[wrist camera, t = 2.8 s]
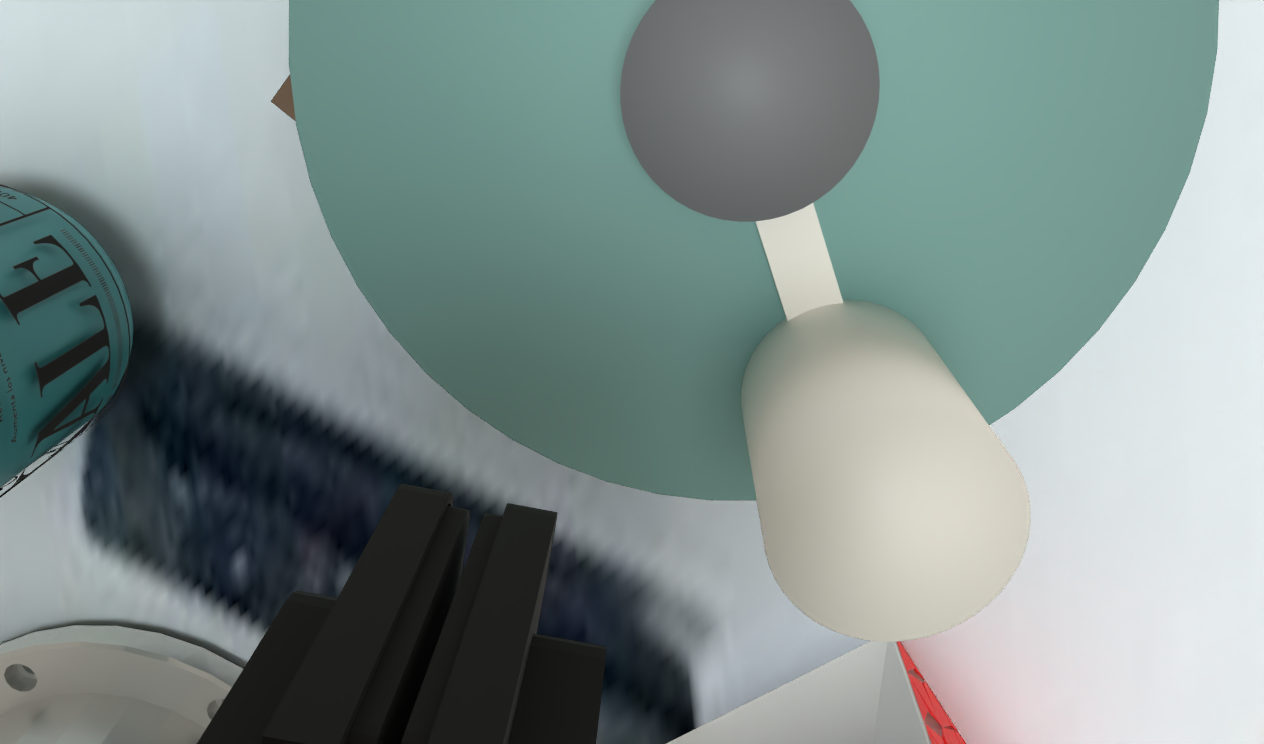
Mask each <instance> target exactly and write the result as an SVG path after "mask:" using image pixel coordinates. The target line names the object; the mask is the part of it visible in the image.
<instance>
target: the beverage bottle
mask: <svg viewBox="0 0 1264 744" xmlns="http://www.w3.org/2000/svg"><path fill="white" fill-rule="evenodd" d="M0 186H3V187H6V188H3V187H0V487H1V488H0V491H1V490H2V489H3V487H5V486H6V485H5V486H3V485H4V484H6V483H7V482H8V481H10V480H11V479H12V478H14V477H15V479H14V480H16V479H17V478H18V476H16V475H17V474H19V473H20V472H21V471H23V470H24V469H25V468H27V467H28V466H29V465H31V464H32V463H33V462H35V461H36V460H37V459H39V458H40V457H41V456H43V455H45V454H48V453H51V451H50V452H48V451H49V450H50V449H52V448H53V447H55V446H58V445H57V444H58V443H60V442H61V441H62V440H64V439H65V438H66V437H68V436H69V435H70V434H72V433H73V432H74V431H75V430H77V429H78V428H79V427H81V426H82V425H83V424H85V423H86V422H87V421H89V420H90V419H91V418H92V417H93V418H94V416H95V415H96V414H97V413H98V412H99V411H100V410H101V409H102V408H103V407H104V406H106V404H107V405H108V403H109V402H108V401H110V399H111V397H112V395H113V394H114V393H115V391H116V389H117V387H118V385H119V383H120V381H121V379H122V377H123V374H124V372H125V370H126V373H127V369H128V364H129V358H130V354H131V348H132V343H133V321H132V312H131V307H130V303H129V298H128V295H127V292H126V289H125V286H124V284H123V281H122V279H121V277H120V275H119V273H118V271H117V269H116V267H115V265H114V264H113V262H112V261H111V259H110V258H109V256H108V254H107V253H106V252H105V250H104V249H103V248H102V247H101V245H100V244H99V243H98V242H97V240H96V239H95V238H94V237H93V236H92V235H91V234H90V233H89V232H88V231H87V230H86V229H85V228H84V227H83V226H82V225H80V224H79V223H78V222H77V221H76V220H74V219H73V218H72V217H71V216H69V215H68V214H66V213H64V212H63V211H61V210H60V209H58V208H57V207H55V206H53V205H51V204H49V203H47V202H45V201H43V200H41V199H39V198H36V197H34V196H31V195H28V194H26V193H23V192H20V191H17V190H15V189H12V188H10V187H7V186H4V185H0ZM8 188H9V189H8ZM11 189H12V190H11ZM126 367H127V368H126ZM126 373H125V376H126ZM125 376H124V379H125ZM124 379H123V382H124ZM123 382H122V385H123ZM122 385H121V388H122ZM121 388H120V390H121ZM120 390H119V392H120ZM119 392H118V394H119ZM118 394H117V396H118ZM117 396H116V398H117ZM116 398H115V400H116ZM115 400H114V401H115ZM113 403H114V402H113ZM113 403H112V404H113ZM111 406H112V405H111ZM111 406H110V407H111ZM106 407H107V406H106ZM106 407H104V410H105V408H106ZM110 407H109V408H110ZM104 410H103V412H104ZM108 410H109V409H108ZM108 410H107V411H108ZM103 412H102V413H103ZM102 413H100V415H101V414H102ZM106 413H107V412H106ZM106 413H105V414H106ZM105 414H104V415H105ZM100 415H99V417H100ZM99 417H98V419H99ZM93 418H92V419H93ZM92 419H91V420H90V421H89V422H88V423H87V424H86V425H85V426H84V427H83V428H82V429H81V430H80V431H79V432H77V433H76V434H75V435H74V436H73V437H72V438H71V439H70V440H69V441H67V443H66V442H64V443H66V444H65V445H64V446H62V447H60V448H59V450H58V451H57V452H56V453H54V454H53V455H51V457H50V456H49V457H50V458H49V459H47V460H46V461H45V462H43V463H42V464H41V465H40V466H38V467H37V468H36V469H34V470H33V471H32V472H30V473H29V474H27V475H23V473H24V471H25V470H24V471H23V473H22V474H21V476H20V477H19V478H18V480H17V481H16V482H15V484H14V486H12V487H11V488H10V489H8V490H7V491H6V492H4V493H3V494H2V495H0V498H1V497H2V496H3V495H4V494H6V493H7V492H8V491H10V490H11V489H12V488H13V487H15V486H16V485H17V484H19V483H20V482H21V481H23V480H24V479H25V478H26V477H28V476H29V475H30V474H32V473H33V472H34V471H35V470H37V469H38V468H39V467H41V466H42V465H43V464H45V463H46V462H47V461H48V460H50V459H51V458H52V457H54V456H55V455H56V454H57V453H59V452H60V451H61V450H63V448H64V447H65V446H66V445H67V444H70V442H71V441H72V440H73V439H74V438H76V437H78V435H79V434H80V433H82V432H83V431H84V430H85V429H86V428H87V427H88V425H89V424H90V422H91V421H92ZM98 419H96V420H95V421H97V420H98ZM93 424H94V423H93ZM93 424H92V425H93ZM92 425H91V426H92ZM91 426H90V427H91ZM86 431H87V430H86ZM86 431H85V432H86ZM81 435H82V434H81ZM79 436H80V435H79ZM71 443H72V442H71ZM61 444H63V443H61ZM59 445H60V444H59ZM57 449H58V448H57ZM55 450H56V449H55ZM55 450H53V451H52V452H54V451H55ZM47 452H48V453H47ZM14 480H13V481H14ZM13 481H12V482H13ZM18 481H19V482H18ZM10 483H11V482H10ZM10 483H9V484H10ZM7 485H8V484H7ZM2 486H3V487H2Z"/></svg>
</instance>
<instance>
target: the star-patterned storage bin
mask: <svg viewBox="0 0 1264 744" xmlns="http://www.w3.org/2000/svg"><path fill="white" fill-rule="evenodd" d="M922 678H923V677H922V675H921V674H920V672H919V670H918V669H917V667H916V666H915V664H914V663H913V661H912V660H911V658H910V657H909V655H908V653H907V652H906V650H905V649H904V647H903V646H902V644H901V643H900V641H897V642H879V641H870V642H868V643H866V644H864V645H862V646H860V647H858V648H856V649H854V650H852V651H850V652H848V653H846V654H844V655H842V656H840V657H838V658H836V659H834V660H832V661H830V662H828V663H826V664H824V665H822V666H820V667H818V668H816V669H814V670H812V671H810V672H808V673H806V674H804V675H802V676H800V677H798V678H796V679H794V680H792V681H790V682H788V683H786V684H784V685H782V686H780V687H778V688H776V689H774V690H772V691H770V692H768V693H766V694H764V695H762V696H760V697H758V698H756V699H754V700H752V701H750V702H748V703H746V704H744V705H742V706H740V707H738V708H736V709H734V710H732V711H730V712H728V713H726V714H724V715H722V716H720V717H718V718H716V719H714V720H712V721H710V722H708V723H706V724H704V725H702V726H700V727H698V728H696V729H694V730H692V731H690V732H688V733H686V734H684V735H682V736H680V737H678V738H676V739H674V740H672V741H670V742H668V743H666V744H966V743H965V742H964V740H963V738H962V737H961V735H960V734H959V733H958V731H957V729H956V728H955V726H954V725H953V723H952V722H951V720H950V718H949V717H948V715H947V714H946V712H945V711H944V709H943V708H942V706H941V705H940V703H939V701H938V700H937V698H936V697H935V695H934V694H933V692H932V691H931V689H930V688H929V686H928V684H927V683H926V682H925V681H924V680H923V679H924V678H923V679H922Z"/></svg>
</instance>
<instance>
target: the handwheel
mask: <svg viewBox="0 0 1264 744" xmlns="http://www.w3.org/2000/svg"><path fill="white" fill-rule="evenodd" d="M1218 10H1219V0H289V68H290V77H291V85H292V94H293V102H294V110H295V119H296V126H297V130H298V134H299V138H300V142H301V146H302V150H303V154H304V158H305V162H306V166H307V170H308V174H309V178H310V182H311V185H312V187H313V190H314V193H315V195H316V198H317V200H318V203H319V206H320V208H321V211H322V213H323V216H324V219H325V221H326V224H327V226H328V229H329V232H330V234H331V237H332V239H333V241H334V243H335V244H336V246H337V248H338V250H339V252H340V254H341V256H342V258H343V259H344V261H345V263H346V265H347V267H348V269H349V271H350V273H351V275H352V276H353V278H354V280H355V282H356V284H357V286H358V288H359V289H360V290H361V292H362V293H363V295H364V296H365V298H366V299H367V300H368V302H369V303H370V305H371V306H372V308H373V309H374V310H375V312H376V313H377V315H378V316H379V318H380V319H381V320H382V322H383V323H384V325H385V326H386V328H387V329H388V330H389V332H390V333H391V334H392V335H393V337H394V338H395V339H396V340H397V341H398V342H399V343H400V344H401V345H402V347H403V348H404V349H405V350H406V351H407V352H408V353H409V354H410V355H411V357H412V358H413V359H414V360H415V361H416V362H417V363H418V364H419V366H420V367H421V368H422V369H423V370H424V371H425V372H426V373H427V374H428V375H429V376H430V377H431V378H432V379H433V380H435V381H436V382H437V383H438V384H439V385H440V386H442V387H443V388H444V389H445V390H446V391H447V392H448V393H450V394H451V395H452V396H453V397H454V398H455V399H456V400H458V401H459V402H460V403H461V404H462V405H463V406H464V407H466V408H467V409H468V410H469V411H471V412H472V413H474V414H475V415H477V416H478V417H480V418H481V419H483V420H484V421H486V422H487V423H489V424H490V425H491V426H493V427H494V428H496V429H497V430H499V431H500V432H502V433H503V434H505V435H506V436H508V437H509V438H511V439H512V440H514V441H516V442H518V443H520V444H522V445H524V446H526V447H528V448H530V449H532V450H534V451H535V452H537V453H539V454H541V455H543V456H545V457H547V458H549V459H551V460H553V461H555V462H557V463H559V464H561V465H564V466H567V467H569V468H572V469H575V470H578V471H580V472H583V473H586V474H588V475H591V476H594V477H596V478H599V479H602V480H604V481H607V482H611V483H615V484H619V485H623V486H627V487H631V488H636V489H640V490H644V491H648V492H652V493H656V494H662V495H670V496H679V497H687V498H696V499H704V500H757V505H758V511H759V517H760V523H761V529H762V535H763V541H764V547H765V553H766V556H767V560H768V564H769V567H770V569H771V571H772V573H773V576H774V578H775V580H776V582H777V583H778V585H779V586H780V588H781V590H782V591H783V593H784V594H785V595H786V596H787V597H788V599H789V600H790V601H791V602H792V603H793V604H794V605H795V606H796V607H797V608H798V609H799V610H800V611H802V612H803V613H804V614H805V615H806V616H808V617H809V618H811V619H812V620H814V621H815V622H817V623H818V624H820V625H822V626H824V627H826V628H828V629H830V630H832V631H835V632H838V633H840V634H843V635H846V636H850V637H854V638H858V639H862V640H871V641H879V642H897V641H906V640H914V639H919V638H923V637H928V636H931V635H934V634H937V633H940V632H943V631H946V630H948V629H950V628H952V627H955V626H957V625H959V624H961V623H963V622H964V621H966V620H968V619H969V618H971V617H972V616H974V615H976V614H977V613H978V612H979V611H981V610H982V609H983V608H985V607H986V606H987V605H988V604H989V603H990V602H991V601H992V600H993V599H994V598H995V597H996V596H997V595H998V594H999V593H1000V592H1001V591H1002V590H1003V588H1004V587H1005V586H1006V585H1007V583H1008V582H1009V581H1010V579H1011V578H1012V576H1013V574H1014V573H1015V571H1016V569H1017V568H1018V566H1019V563H1020V561H1021V559H1022V556H1023V554H1024V552H1025V548H1026V544H1027V541H1028V537H1029V530H1030V521H1031V520H1030V502H1029V497H1028V491H1027V488H1026V485H1025V482H1024V479H1023V476H1022V474H1021V472H1020V470H1019V468H1018V467H1017V465H1016V463H1015V461H1014V460H1013V458H1012V457H1011V456H1010V454H1009V453H1008V451H1007V450H1006V449H1005V447H1004V446H1003V444H1002V443H1001V442H1000V440H999V439H998V437H997V436H996V435H995V433H994V432H993V430H992V429H991V428H990V426H989V425H990V424H992V423H993V422H995V421H996V420H998V419H999V418H1001V417H1002V416H1004V415H1005V414H1007V413H1009V412H1010V411H1012V410H1013V409H1015V408H1016V407H1017V406H1018V405H1020V404H1021V403H1022V402H1023V401H1024V400H1026V399H1027V398H1028V397H1029V396H1030V395H1032V394H1033V393H1034V392H1035V391H1036V390H1038V389H1039V388H1040V387H1041V386H1042V385H1044V384H1045V383H1046V382H1047V381H1048V380H1050V379H1051V378H1052V377H1053V376H1054V375H1056V374H1057V373H1058V372H1059V371H1060V370H1061V369H1062V368H1063V367H1064V366H1065V365H1066V364H1067V363H1068V362H1069V361H1070V360H1071V359H1072V357H1073V356H1074V355H1075V354H1076V353H1077V352H1078V351H1079V350H1080V349H1081V348H1082V347H1083V346H1084V345H1085V344H1086V343H1087V342H1088V341H1089V340H1090V339H1091V338H1092V336H1093V335H1094V334H1095V333H1096V332H1097V331H1098V330H1099V329H1100V328H1101V326H1102V325H1103V324H1104V322H1105V321H1106V320H1107V318H1108V317H1109V316H1110V314H1111V313H1112V312H1113V310H1114V309H1115V308H1116V306H1117V305H1118V304H1119V302H1120V301H1121V300H1122V298H1123V297H1124V296H1125V294H1126V293H1127V292H1128V290H1129V289H1130V288H1131V286H1132V285H1133V284H1134V282H1135V281H1136V279H1137V277H1138V276H1139V274H1140V272H1141V270H1142V269H1143V267H1144V265H1145V263H1146V262H1147V260H1148V258H1149V257H1150V255H1151V253H1152V251H1153V250H1154V248H1155V246H1156V245H1157V243H1158V241H1159V239H1160V238H1161V236H1162V234H1163V232H1164V231H1165V229H1166V226H1167V224H1168V222H1169V219H1170V217H1171V215H1172V212H1173V210H1174V208H1175V205H1176V203H1177V201H1178V199H1179V196H1180V194H1181V192H1182V189H1183V187H1184V185H1185V182H1186V180H1187V178H1188V175H1189V173H1190V169H1191V166H1192V163H1193V159H1194V156H1195V152H1196V149H1197V145H1198V142H1199V139H1200V135H1201V132H1202V128H1203V125H1204V122H1205V118H1206V115H1207V110H1208V104H1209V98H1210V91H1211V85H1212V79H1213V73H1214V67H1215V61H1216V54H1217V40H1218Z"/></svg>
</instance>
